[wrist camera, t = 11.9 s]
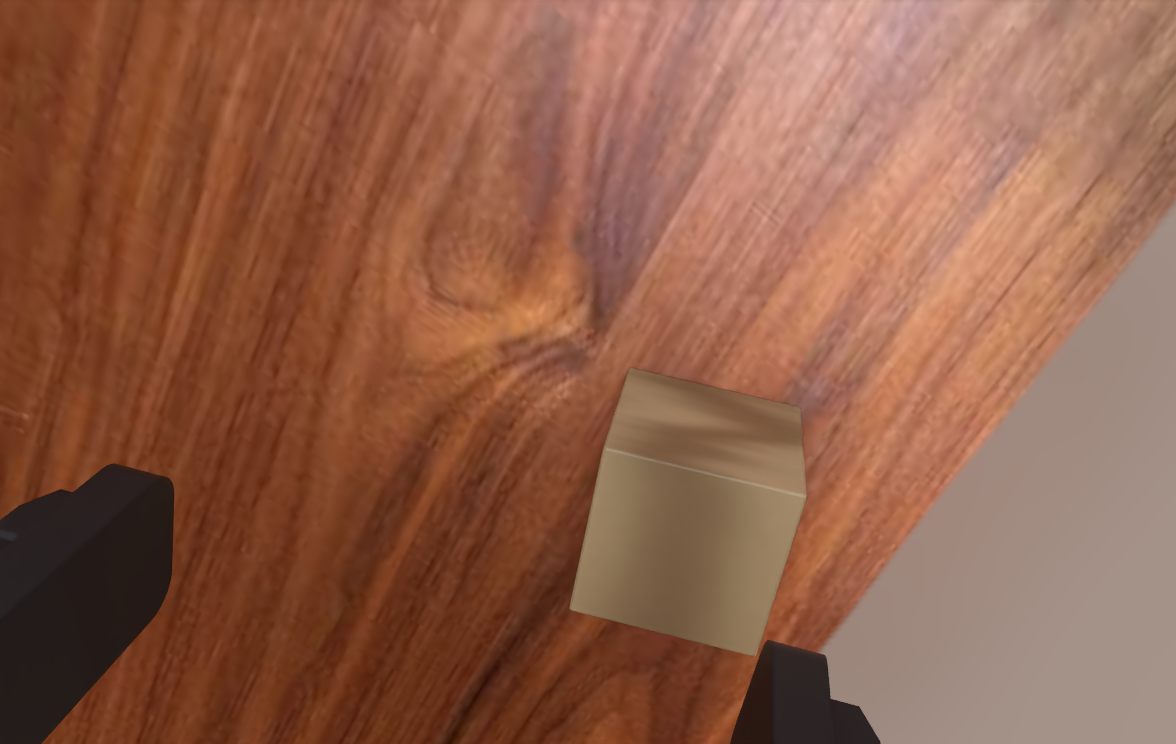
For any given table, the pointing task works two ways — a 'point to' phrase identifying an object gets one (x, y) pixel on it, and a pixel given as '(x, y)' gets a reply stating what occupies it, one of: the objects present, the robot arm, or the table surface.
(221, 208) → the table surface
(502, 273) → the table surface
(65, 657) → the robot arm
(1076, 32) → the table surface
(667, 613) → the block
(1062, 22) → the table surface
